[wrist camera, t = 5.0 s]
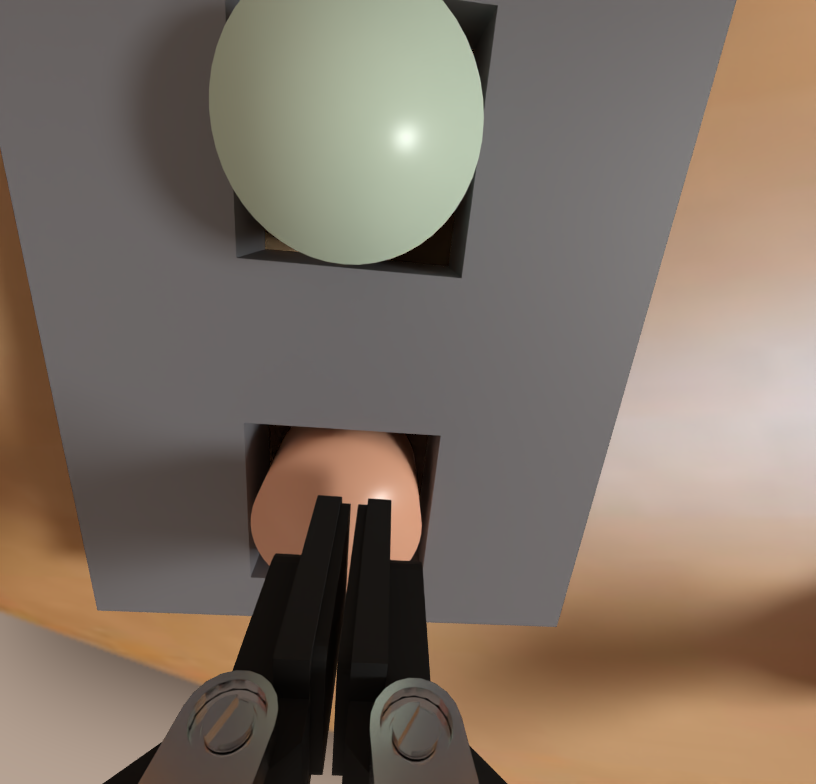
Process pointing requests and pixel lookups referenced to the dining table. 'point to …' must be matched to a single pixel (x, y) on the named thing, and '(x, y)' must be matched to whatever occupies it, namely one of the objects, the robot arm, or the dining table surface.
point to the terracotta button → (336, 487)
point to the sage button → (347, 121)
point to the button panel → (344, 294)
